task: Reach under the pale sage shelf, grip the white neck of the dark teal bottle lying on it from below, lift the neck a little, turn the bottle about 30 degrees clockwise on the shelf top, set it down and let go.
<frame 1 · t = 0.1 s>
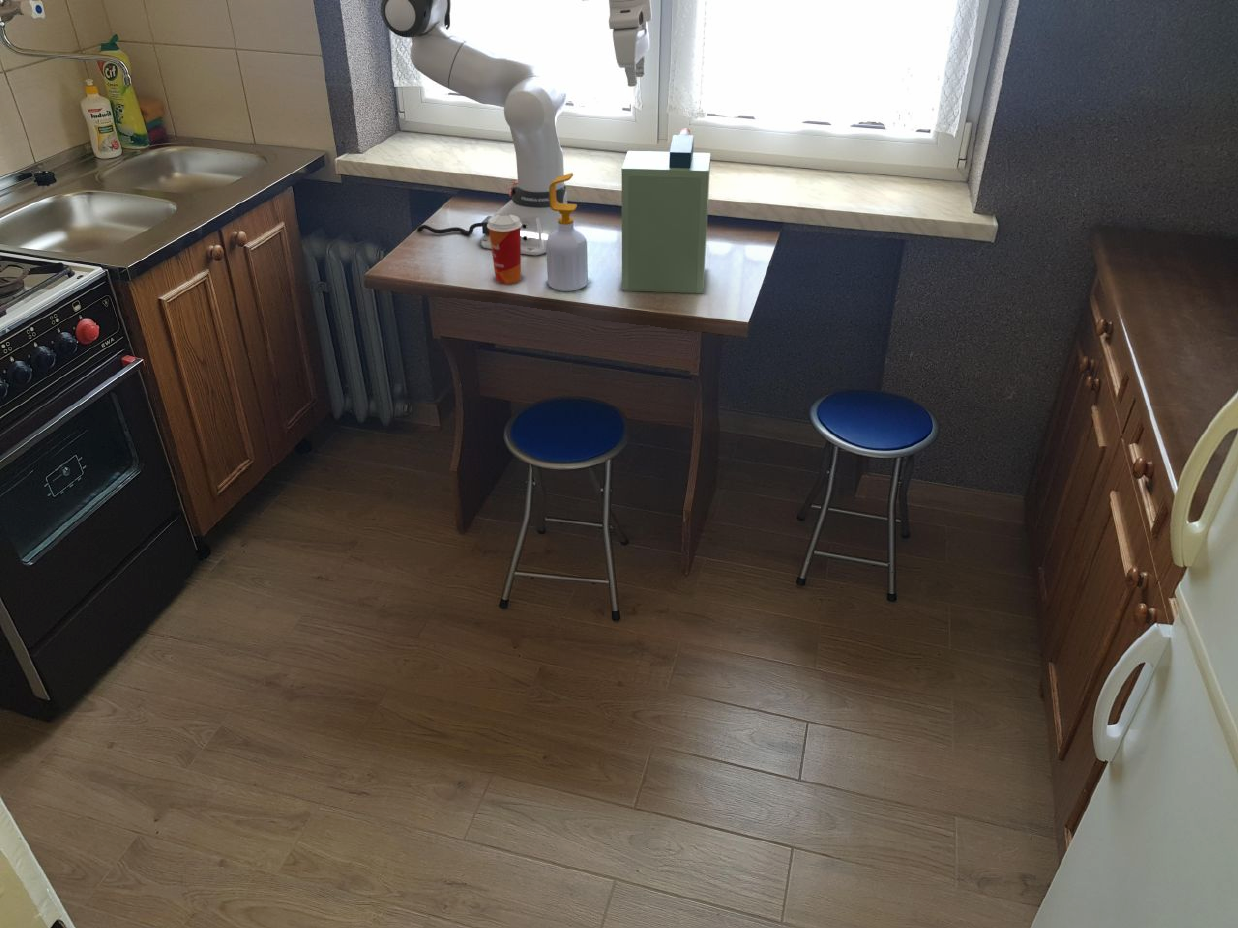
hand: (636, 81, 212), 39 cm above the table, tool pointing down, fingers open, 8 cm apart
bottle: (680, 160, 197), point 29 cm above the table, touching stand
paper cup: (508, 280, 218), on the table
stand: (664, 280, 217), on the table
soap bottle: (568, 284, 216), on the table
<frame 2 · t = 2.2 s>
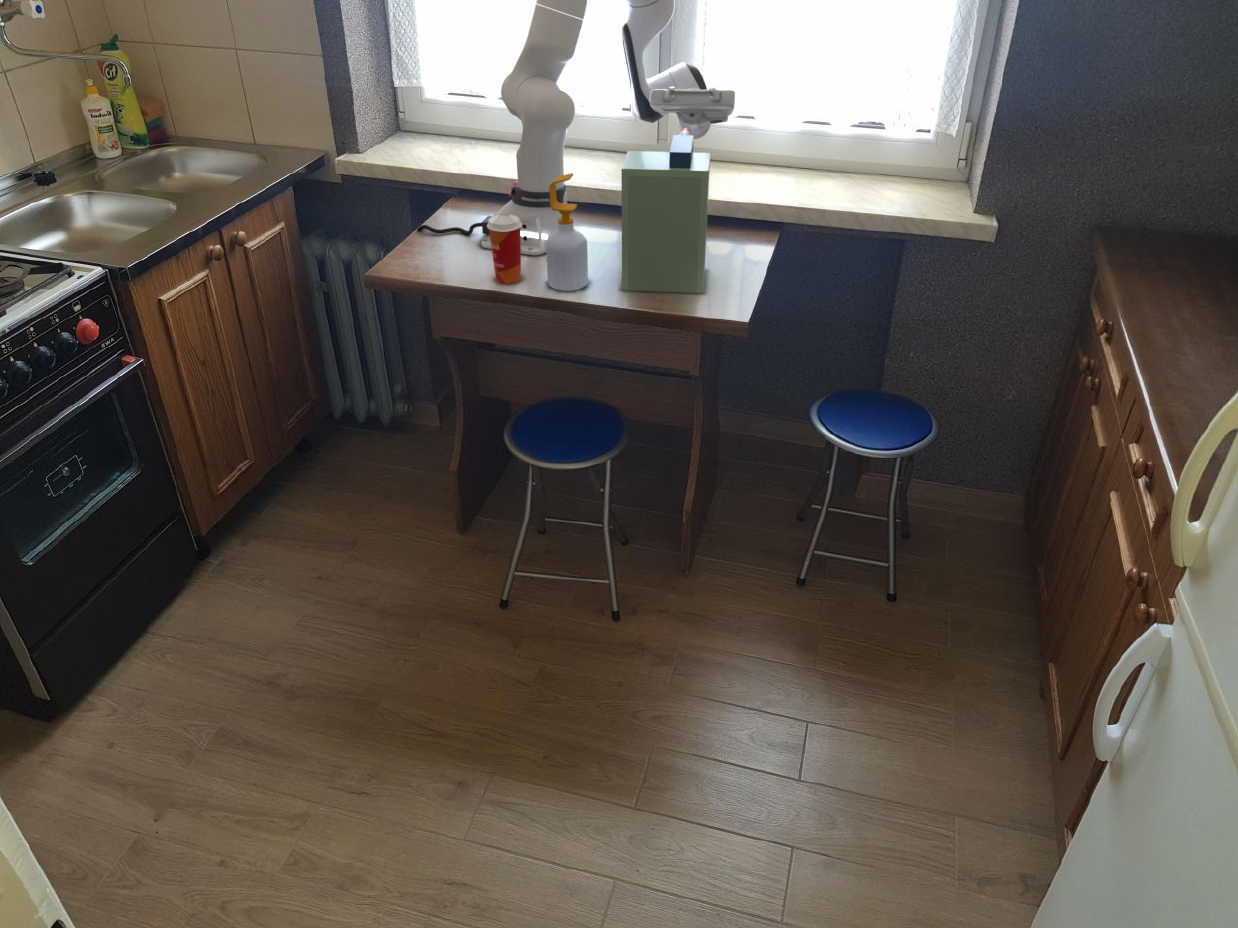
hand: (691, 90, 221), 35 cm above the table, tool pointing upward, fingers open, 8 cm apart
nothing on the table moved.
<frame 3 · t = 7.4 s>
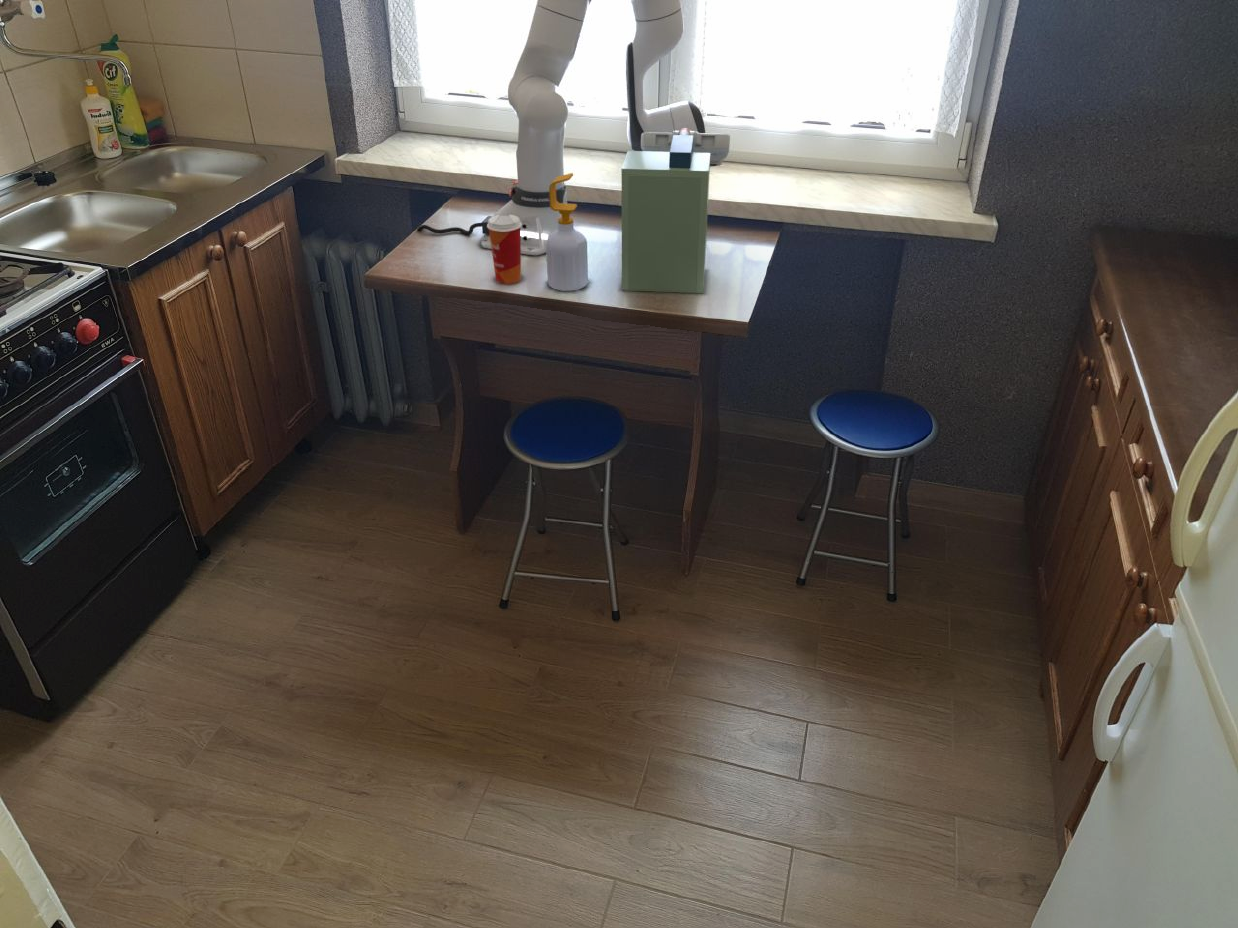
hand: (684, 134, 211), 29 cm above the table, tool pointing upward, fingers closed on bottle, 2 cm apart
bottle: (680, 160, 197), point 29 cm above the table, touching gripper, stand
everything else where it was.
when the fingers open (29 cm above the table, at t = 12.0 s): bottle stays where it is, resting on stand.
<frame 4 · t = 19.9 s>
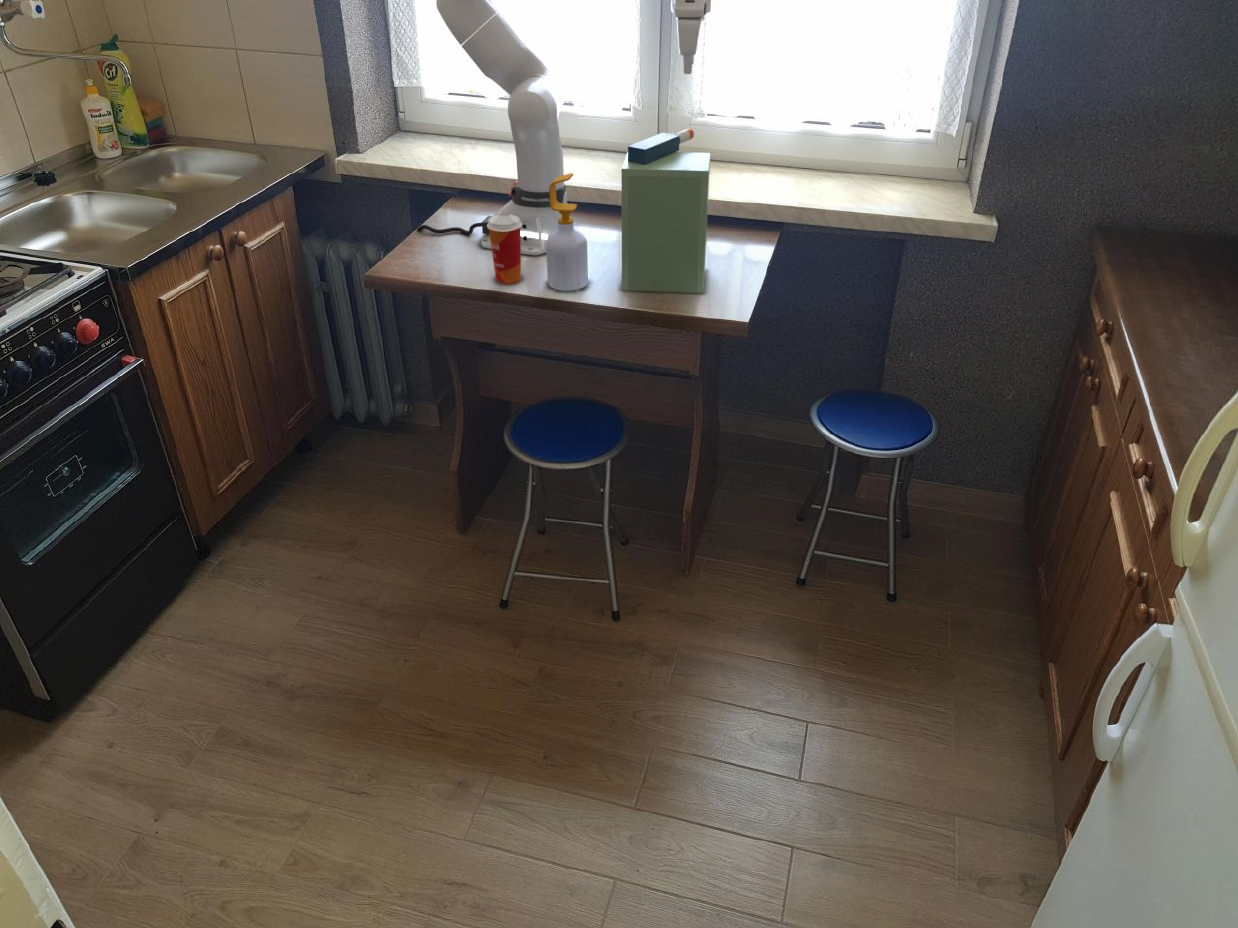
hand: (688, 69, 220), 39 cm above the table, tool pointing down, fingers open, 8 cm apart
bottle: (636, 155, 199), point 29 cm above the table, touching stand
everything else where it was.
at the end: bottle inside the target area (0.3 cm from its centre), point 28.6 cm above the table; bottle touching stand; the gripper is holding nothing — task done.
